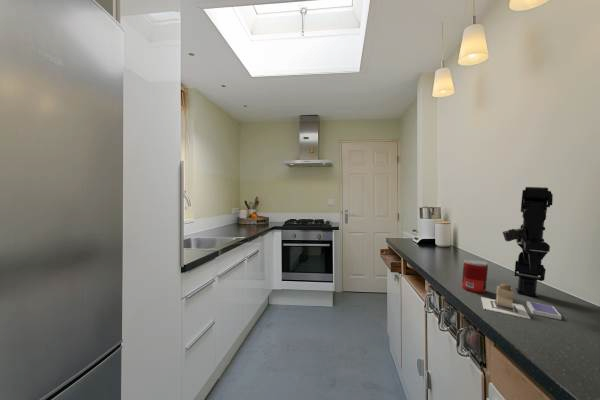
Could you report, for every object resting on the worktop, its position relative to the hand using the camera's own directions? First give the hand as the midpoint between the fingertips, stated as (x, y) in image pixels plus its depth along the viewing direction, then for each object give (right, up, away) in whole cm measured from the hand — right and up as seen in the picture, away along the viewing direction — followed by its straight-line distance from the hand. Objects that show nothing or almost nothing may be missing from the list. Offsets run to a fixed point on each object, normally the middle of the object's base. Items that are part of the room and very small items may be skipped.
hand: (529, 266), depth 102 cm
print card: (-13, -12, -6) cm, 19 cm away
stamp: (-13, -12, -6) cm, 19 cm away
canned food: (-13, -12, +11) cm, 21 cm away
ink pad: (-2, -13, -8) cm, 15 cm away
